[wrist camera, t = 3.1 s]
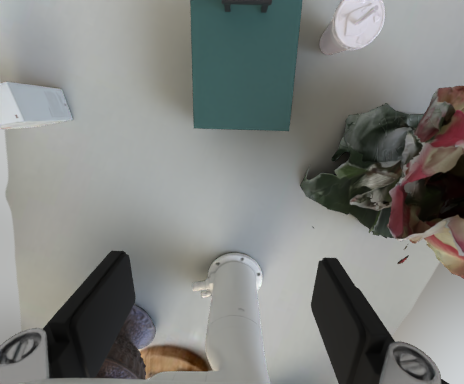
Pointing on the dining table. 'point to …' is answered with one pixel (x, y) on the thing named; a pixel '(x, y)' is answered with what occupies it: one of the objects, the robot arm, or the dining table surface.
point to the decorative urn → (129, 348)
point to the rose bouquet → (404, 175)
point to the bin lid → (244, 63)
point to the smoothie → (353, 26)
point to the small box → (31, 106)
